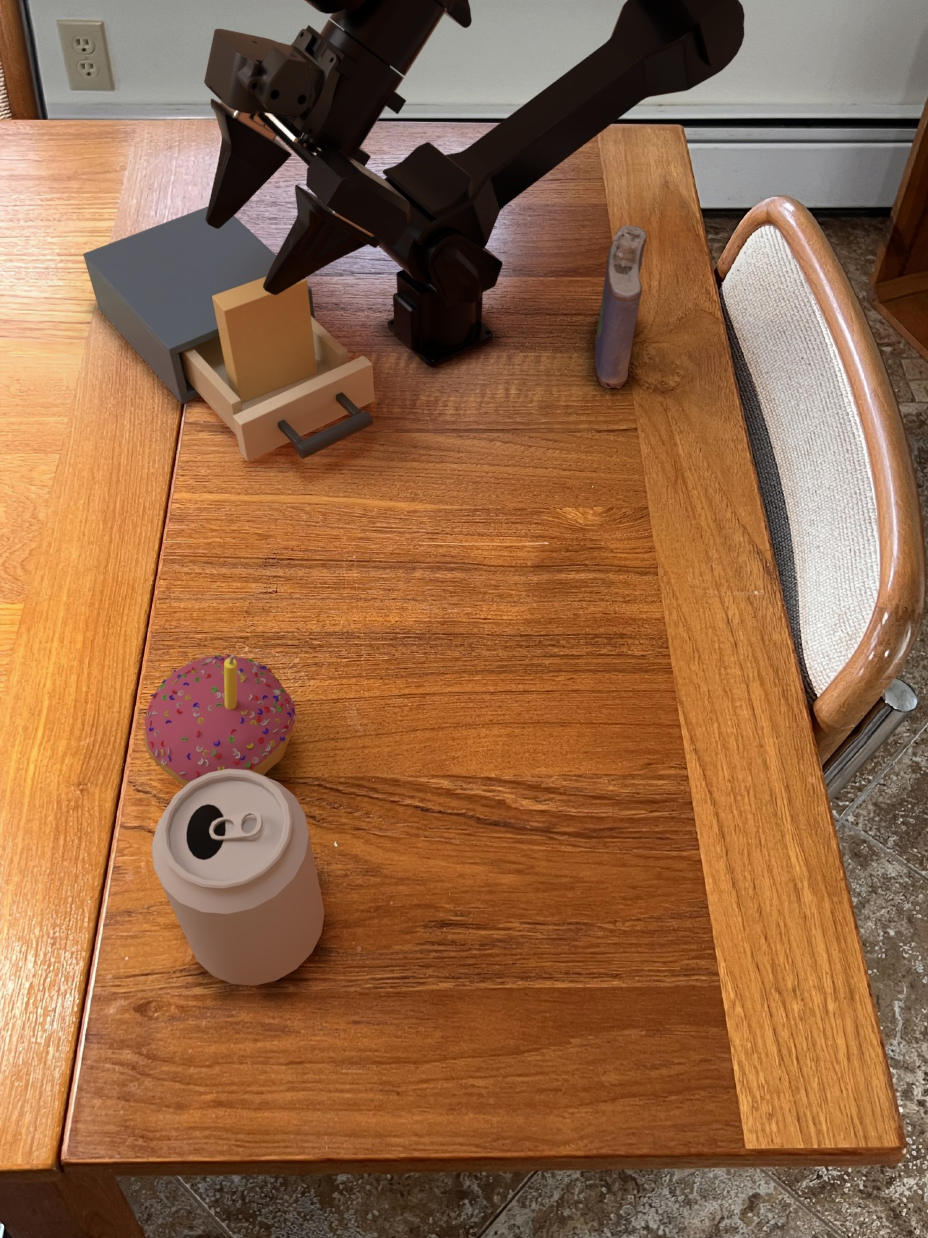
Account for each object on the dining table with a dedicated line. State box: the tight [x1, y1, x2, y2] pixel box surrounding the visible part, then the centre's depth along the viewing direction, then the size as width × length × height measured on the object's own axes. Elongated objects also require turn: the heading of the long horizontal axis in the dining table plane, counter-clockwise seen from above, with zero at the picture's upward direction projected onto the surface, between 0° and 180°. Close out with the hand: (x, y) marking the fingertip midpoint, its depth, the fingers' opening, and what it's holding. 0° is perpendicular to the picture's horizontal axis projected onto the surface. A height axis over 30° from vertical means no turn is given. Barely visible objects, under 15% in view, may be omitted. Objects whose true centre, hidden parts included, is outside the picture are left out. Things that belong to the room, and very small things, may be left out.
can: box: [151, 769, 325, 987], centre depth 59 cm, size 8×8×12 cm
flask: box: [593, 224, 648, 389], centre depth 89 cm, size 9×3×11 cm, turn 172°
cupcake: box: [144, 653, 297, 787], centre depth 65 cm, size 9×8×12 cm
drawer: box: [179, 316, 375, 462], centre depth 87 cm, size 17×11×4 cm, turn 37°
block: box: [212, 276, 317, 403], centre depth 85 cm, size 6×2×8 cm, turn 123°
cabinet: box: [82, 206, 316, 405], centre depth 93 cm, size 14×12×5 cm
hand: (239, 257), depth 78 cm, fingers open, 9 cm apart
